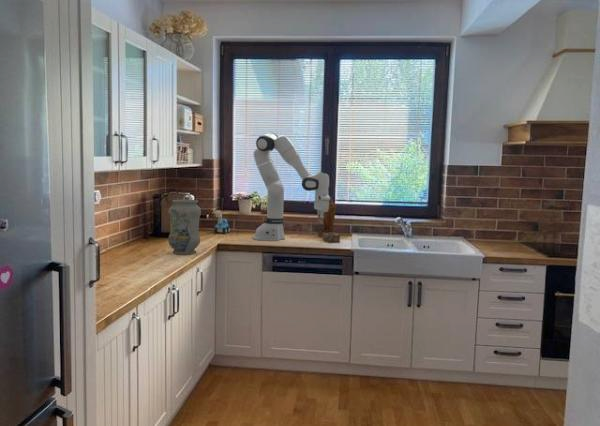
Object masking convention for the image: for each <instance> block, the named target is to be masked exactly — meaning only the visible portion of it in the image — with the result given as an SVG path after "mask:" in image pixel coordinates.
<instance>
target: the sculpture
mask: <svg viewBox="0 0 600 426" xmlns="http://www.w3.org/2000/svg"><path fill="white" fill-rule="evenodd" d="M329 197H330V201H329V209H328V212H324V214H323V219H322V224H323V229H322V230H320V231H318V232H317V236H319V237H321V238H323V233H334V232H333V231H334V230H333V229H334V223H335V216H336V213H337V209H338V205H336V203H335V202H333V199H332V197H331V196H330V195H329Z"/></svg>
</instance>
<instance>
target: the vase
mask: <svg viewBox="0 0 600 426" xmlns="http://www.w3.org/2000/svg"><path fill="white" fill-rule="evenodd" d="M171 202H172V205H171V206H169V207H168V209H167V210H168V215H169V220H170V221H169V223H170V224H169V225H170V231H169V235H168V244H169V246H170V247H171V248H172V249H173V251H172V253H173V254H174V255H182V256H183V255H184V256H185V255H194V254H196V252H197V251H196V250H195V249H196V248H198V246H199V245H200V243H201V235H200V234H199V233H200V231H199V229H200V228H199V227H200V226H199V225H200V217H201V214H202V209H201V207H200V206H199V205H198V203H199V200H198V199H173V200H172V201H171Z"/></svg>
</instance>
